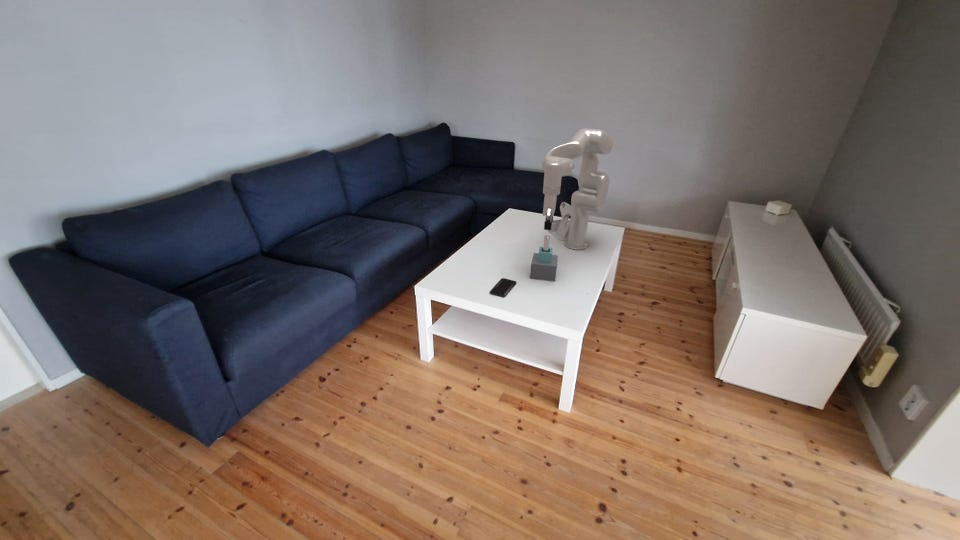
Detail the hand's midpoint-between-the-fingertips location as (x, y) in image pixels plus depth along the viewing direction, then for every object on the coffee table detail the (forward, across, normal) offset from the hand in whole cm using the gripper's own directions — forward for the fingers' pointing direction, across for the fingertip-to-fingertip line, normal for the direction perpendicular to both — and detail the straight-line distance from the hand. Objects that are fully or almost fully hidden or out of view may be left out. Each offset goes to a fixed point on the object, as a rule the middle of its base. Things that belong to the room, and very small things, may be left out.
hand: (548, 225), depth 181 cm
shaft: (+19, 0, 0) cm, 19 cm away
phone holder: (+26, -51, +6) cm, 58 cm away
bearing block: (+26, 0, 0) cm, 26 cm away
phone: (+26, +18, -17) cm, 36 cm away
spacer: (+18, 0, 0) cm, 18 cm away
